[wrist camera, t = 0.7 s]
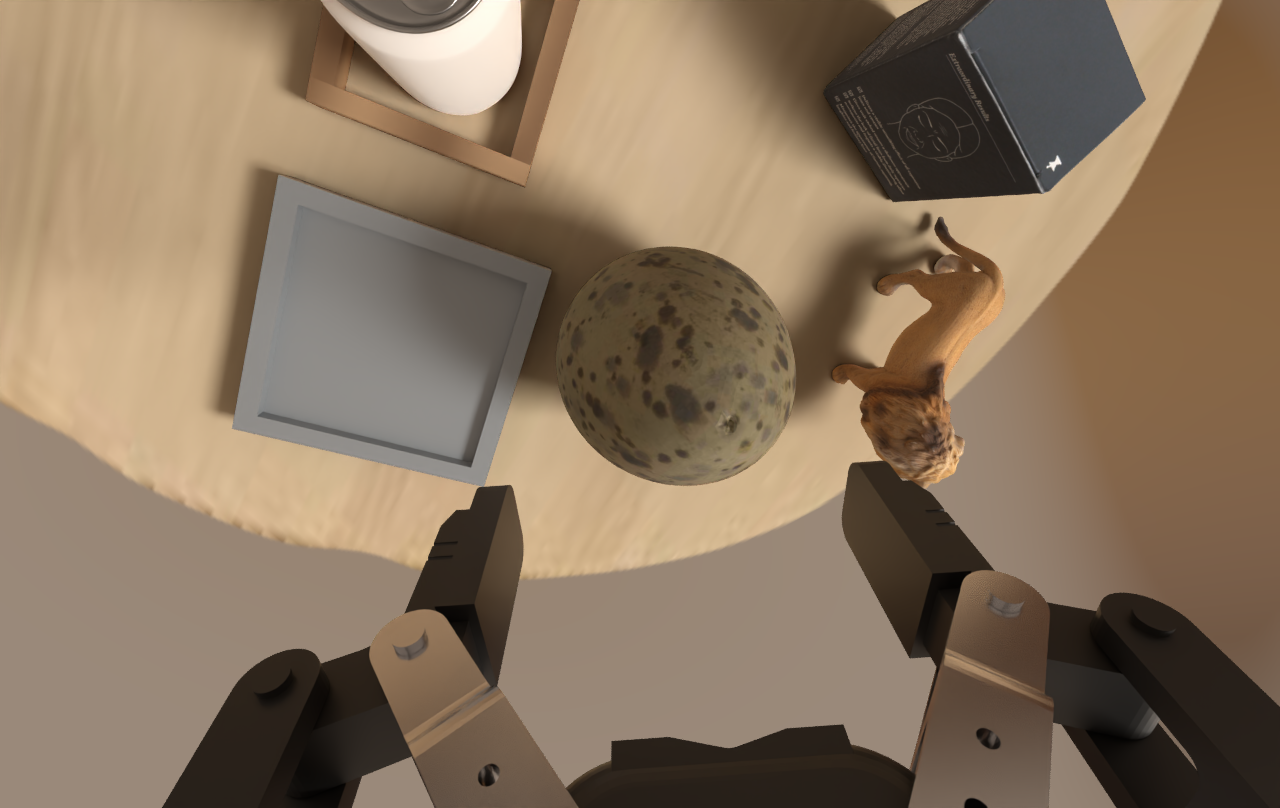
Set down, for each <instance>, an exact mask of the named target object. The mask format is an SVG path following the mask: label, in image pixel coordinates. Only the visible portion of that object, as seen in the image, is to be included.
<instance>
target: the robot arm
mask: <svg viewBox="0 0 1280 808" xmlns="http://www.w3.org/2000/svg"><path fill="white" fill-rule="evenodd" d="M842 526H843V531H844V534H845V538H846V540H847V542H848V544H849V546H850V548H851V550H852V552H853V553H854V555H855V557H856V559H857V561H858V563H859V565H860V566H861V568H862V570H863V572H864V574H865V576H866V578H867V580H868V581H869V583H870V585H871V587H872V589H873V591H874V593H875V594H876V596H877V598H878V600H879V602H880V604H881V606H882V608H883V609H884V611H885V613H886V615H887V617H888V619H889V621H890V623H891V624H892V626H893V628H894V630H895V632H896V634H897V636H898V637H899V639H900V641H901V643H902V645H903V647H904V649H905V651H906V652H907V654H908V656H909V658H921V657H931V658H932V660H933V661H934V663H935V665H936V670H935V673H934V676H933V680H932V685H931V688H930V692H929V696H928V700H927V704H926V708H925V711H924V715H923V719H922V723H921V727H920V731H919V735H918V739H917V742H916V746H915V750H914V754H913V758H912V761H911V765H910V768H909V769H907V768H906V767H904V766H903V765H901V764H899V763H897V762H896V761H894V760H892V759H890V758H889V757H886V756H884V755H882V754H879V753H877V752H875V751H872V750H869V749H866V748H863V747H860V746H856V745H851V744H850V741H849V739H848V736H847V733H846V730H845V728H844V725H830V726H815V727H801V728H787V729H784V730H781V731H779V732H776V733H773V734H770V735H768V736H765V737H762V738H759V739H757V740H754V741H751V742H749V743H746V744H743V745H740V746H738V747H734V748H722V747H717V746H712V745H706V744H702V743H697V742H692V741H686V740H681V739H676V738H671V737H664V738H649V739H635V740H623V741H622V740H621V741H612V751H611V752H612V753H611V755H612V756H611V757H612V758H611V761H609V762H606V763H604V764H601V765H599V766H597V767H595V768H593V769H591V770H590V771H588V772H586V773H585V774H583V775H582V776H580V777H579V778H577V779H576V780H575V781H573V782H572V783H571V784H570V785H569V786H568V787H566V788H565V786H564V785H563V783H562V782H561V780H560V779H559V778H558V776H557V774H556V773H555V771H554V770H553V768H552V767H551V765H550V764H549V762H548V760H547V759H546V757H545V756H544V754H543V753H542V751H541V750H540V748H539V747H538V745H537V744H536V742H535V741H534V739H533V738H532V736H531V735H530V733H529V732H528V730H527V729H526V727H525V726H524V724H523V723H522V721H521V720H520V718H519V717H518V715H517V714H516V712H515V710H514V709H513V707H512V706H511V705H510V703H509V701H508V700H507V698H506V697H505V695H504V694H503V693H502V691H501V690H500V689H499V688H498V686H497V684H498V680H499V675H500V669H501V665H502V660H503V655H504V650H505V645H506V640H507V636H508V631H509V626H510V620H511V616H512V611H513V605H514V601H515V596H516V592H517V587H518V582H519V577H520V572H521V567H522V562H523V535H522V530H521V525H520V520H519V515H518V510H517V505H516V500H515V496H514V491H513V488H512V486H511V485H505V486H490V487H479V488H478V489H477V491H476V493H475V496H474V499H473V502H472V504H471V507H470V509H469V510H456V511H455V512H454V513H453V514H452V515H451V516H450V517H449V518H448V519H447V520H446V521H445V522H444V523H443V524H442V525H441V527H440V530H439V532H438V534H437V537H436V539H435V542H434V546H432V549H431V551H430V554H429V556H428V561H426V563H425V566H424V568H423V570H422V573H421V575H420V578H419V580H418V582H417V585H416V587H415V590H414V592H413V594H412V597H411V599H410V602H409V604H408V606H407V609H406V611H405V613H404V614H403V615H401V616H399V617H397V618H395V619H394V620H392V621H391V622H389V623H388V624H387V625H385V626H384V627H383V628H382V629H381V630H380V631H379V633H378V634H377V635H376V637H375V638H374V640H373V642H372V644H371V646H369V647H367V648H365V649H363V650H360V651H358V652H354V653H351V654H348V655H345V656H343V657H340V658H337V659H334V660H331V661H328V662H325V663H322V664H321V663H320V661H319V659H318V657H317V656H316V655H315V654H314V653H313V652H311V651H309V650H305V649H292V650H286V651H283V652H280V653H277V654H274V655H272V656H270V657H268V658H266V659H264V660H263V661H261V662H260V663H258V664H256V665H255V666H254V667H253V668H251V669H250V670H249V671H248V672H247V673H246V674H245V675H244V676H243V677H242V678H241V679H240V680H239V681H238V682H237V684H236V685H235V687H234V688H233V690H232V692H231V693H230V695H229V696H228V698H227V700H226V701H225V703H224V705H223V706H222V708H221V710H220V711H219V713H218V715H217V716H216V718H215V720H214V721H213V723H212V725H211V726H210V728H209V730H208V731H207V733H206V735H205V737H204V738H203V740H202V741H201V743H200V745H199V747H198V748H197V750H196V752H195V753H194V755H193V757H192V758H191V760H190V762H189V763H188V765H187V767H186V768H185V770H184V772H183V773H182V775H181V777H180V778H179V780H178V782H177V783H176V785H175V787H174V789H173V790H172V792H171V794H170V795H169V797H168V799H167V800H166V802H165V804H164V805H163V807H162V808H352V805H353V802H354V799H355V796H356V793H357V790H358V787H359V784H360V781H361V778H362V776H364V775H366V774H368V773H371V772H374V771H376V770H379V769H381V768H384V767H386V766H389V765H391V764H394V763H396V762H399V761H401V760H404V759H406V758H409V757H411V756H412V758H413V760H414V763H415V765H416V767H417V769H418V772H419V774H420V776H421V778H422V781H423V783H424V785H425V787H426V789H427V792H428V794H429V796H430V799H431V801H432V803H433V805H434V808H1049V789H1050V771H1051V752H1052V733H1053V732H1052V731H1053V723H1058V724H1062V726H1063V727H1064V729H1065V730H1066V732H1067V733H1068V735H1069V736H1070V738H1071V740H1072V741H1073V743H1074V744H1075V745H1076V747H1077V749H1078V750H1079V752H1080V753H1081V755H1082V756H1083V758H1084V759H1085V761H1086V762H1087V764H1088V765H1089V767H1090V768H1091V769H1092V771H1093V773H1094V774H1095V776H1096V777H1097V779H1098V780H1099V782H1100V783H1101V785H1102V786H1103V788H1104V790H1105V791H1106V793H1107V794H1108V796H1109V797H1110V798H1111V800H1112V802H1113V803H1114V805H1115V806H1116V808H1280V707H1279V706H1278V705H1277V704H1276V703H1275V702H1274V701H1273V700H1272V699H1271V698H1270V697H1269V696H1268V695H1267V694H1266V693H1265V692H1264V691H1263V690H1262V689H1260V687H1259V686H1258V685H1256V684H1255V683H1254V682H1253V681H1252V680H1251V679H1250V678H1249V677H1248V676H1247V675H1246V674H1245V673H1244V672H1243V671H1242V670H1241V669H1240V668H1239V667H1238V666H1237V665H1236V664H1235V663H1234V662H1232V661H1231V660H1230V659H1229V658H1228V657H1227V656H1226V655H1225V654H1224V653H1223V652H1222V651H1221V650H1220V649H1219V648H1218V647H1217V646H1216V645H1215V644H1214V643H1213V642H1212V641H1211V640H1210V639H1209V638H1208V637H1206V636H1205V635H1204V634H1203V633H1202V632H1201V631H1200V630H1199V629H1198V628H1197V627H1196V626H1195V625H1194V624H1193V623H1192V622H1191V621H1189V620H1188V619H1187V618H1186V617H1185V616H1183V615H1182V614H1180V613H1179V612H1178V611H1176V610H1174V609H1173V608H1171V607H1169V606H1167V605H1165V604H1163V603H1161V602H1159V601H1156V600H1154V599H1151V598H1148V597H1145V596H1141V595H1137V594H1131V593H1114V594H1110V595H1108V596H1106V597H1104V598H1103V600H1102V601H1101V603H1100V605H1099V607H1098V609H1097V611H1092V610H1086V609H1080V608H1075V607H1069V606H1063V605H1058V604H1053V603H1048V602H1046V601H1045V599H1044V598H1043V596H1042V595H1041V594H1040V593H1039V592H1037V590H1035V589H1034V588H1033V587H1032V586H1030V585H1029V584H1027V583H1026V582H1024V581H1022V580H1021V579H1018V578H1016V577H1014V576H1011V575H1009V574H1006V573H1002V572H998V571H995V570H994V569H993V568H992V567H991V566H990V564H989V563H988V562H987V561H986V559H985V558H984V557H983V556H982V555H981V553H980V552H979V551H978V550H977V549H976V547H975V546H974V545H973V544H972V543H971V541H970V540H969V539H968V538H967V536H966V535H965V534H964V533H963V532H962V530H961V529H960V528H959V527H958V525H955V522H954V520H953V519H952V518H951V517H950V516H949V514H948V513H947V512H944V508H943V507H942V506H941V505H940V503H939V502H938V501H937V500H936V499H935V497H934V496H933V495H932V494H931V493H930V492H928V491H927V490H925V489H924V488H922V487H921V486H919V485H918V484H916V483H915V482H913V481H912V480H908V481H902V480H901V479H900V477H899V476H898V474H897V473H896V472H895V470H894V469H893V468H892V467H891V465H890V464H889V463H888V462H887V461H872V462H857V463H852V464H851V465H850V468H849V471H848V478H847V484H846V491H845V497H844V504H843V511H842ZM1159 720H1161V721H1162V722H1163V723H1164V724H1165V726H1166V727H1167V728H1168V729H1169V730H1170V732H1171V733H1172V734H1173V735H1174V737H1175V738H1176V739H1177V740H1178V741H1179V743H1180V744H1181V745H1182V746H1183V747H1184V749H1185V750H1186V751H1187V753H1188V754H1189V755H1190V757H1191V758H1192V760H1193V762H1194V764H1195V766H1196V768H1197V770H1196V769H1195V767H1194V766H1193V765H1192V764H1191V763H1190V761H1189V760H1188V759H1187V758H1186V757H1185V755H1184V754H1183V753H1182V752H1181V750H1180V749H1179V748H1178V747H1177V745H1176V744H1175V743H1174V742H1173V741H1172V739H1171V738H1170V737H1169V736H1168V735H1167V733H1166V732H1165V731H1164V730H1163V728H1162V727H1161V726H1160V725H1159V724H1158V722H1159Z"/></svg>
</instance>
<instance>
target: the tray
mask: <svg viewBox="0 0 1280 808" xmlns="http://www.w3.org/2000/svg"><path fill="white" fill-rule="evenodd" d="M551 272H552V270H551V268H548V267H545V266H542V265H539V264H536V263H534V262H531V261H528V260H525V259H522V258H520V257H517V256H514V255H511V254H508V253H505V252H503V251H500V250H497V249H494V248H491V247H488V246H486V245H483V244H480V243H477V242H474V241H472V240H469V239H466V238H463V237H460V236H457V235H455V234H452V233H449V232H446V231H443V230H441V229H438V228H435V227H432V226H429V225H426V224H424V223H421V222H418V221H415V220H412V219H409V218H407V217H404V216H401V215H398V214H395V213H393V212H390V211H387V210H384V209H381V208H378V207H376V206H373V205H370V204H367V203H364V202H361V201H359V200H356V199H353V198H350V197H347V196H345V195H342V194H339V193H336V192H333V191H330V190H328V189H325V188H322V187H319V186H316V185H314V184H311V183H308V182H305V181H302V180H299V179H297V178H294V177H290V176H284V175H278V180H277V185H276V191H275V196H274V202H273V207H272V212H271V218H270V223H269V229H268V234H267V240H266V245H265V251H264V256H263V262H262V267H261V273H260V278H259V284H258V289H257V295H256V300H255V306H254V311H253V316H252V322H251V327H250V333H249V338H248V344H247V349H246V355H245V360H244V366H243V371H242V377H241V382H240V388H239V393H238V399H237V404H236V410H235V415H234V421H233V426H232V429H236V430H240V431H244V432H249V433H253V434H257V435H262V436H266V437H270V438H275V439H279V440H283V441H288V442H292V443H296V444H301V445H305V446H309V447H314V448H318V449H322V450H326V451H331V452H335V453H339V454H344V455H348V456H352V457H357V458H361V459H365V460H370V461H374V462H378V463H383V464H387V465H391V466H396V467H400V468H404V469H408V470H413V471H417V472H421V473H426V474H430V475H434V476H439V477H443V478H447V479H452V480H456V481H460V482H465V483H469V484H473V485H478V486H482V487H484V485H485V482H486V478H487V475H488V472H489V469H490V466H491V463H492V459H493V456H494V453H495V450H496V447H497V444H498V440H499V437H500V434H501V431H502V428H503V424H504V421H505V418H506V415H507V412H508V409H509V405H510V402H511V399H512V396H513V393H514V390H515V386H516V383H517V380H518V377H519V374H520V371H521V367H522V364H523V361H524V358H525V355H526V352H527V348H528V345H529V342H530V339H531V336H532V333H533V329H534V326H535V323H536V320H537V317H538V313H539V310H540V307H541V304H542V301H543V298H544V294H545V291H546V288H547V285H548V282H549V279H550V275H551Z"/></svg>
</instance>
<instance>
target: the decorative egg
mask: <svg viewBox="0 0 1280 808" xmlns="http://www.w3.org/2000/svg"><path fill="white" fill-rule="evenodd" d="M556 371H557V379H558V384H559V389H560V393H561V396H562V399H563V402H564V405H565V407H566V410H567V412H568V414H569V416H570V417H571V419H572V421H573V423H574V424H575V426H576V428H577V429H578V431H579V432H580V433H581V435H582V436H583V437H584V438H585V439H586V441H587V442H588V443H589V444H590V445H591V446H592V447H593V448H594V449H595V450H596V451H597V452H598V453H599V454H601V455H602V456H603V457H604V458H606V459H607V460H608V461H610V462H611V463H612V464H614V465H615V466H617V467H619V468H621V469H623V470H624V471H626V472H628V473H630V474H633V475H635V476H637V477H640V478H643V479H646V480H649V481H652V482H657V483H661V484H667V485H679V486H693V485H703V484H709V483H714V482H718V481H721V480H724V479H727V478H729V477H732V476H734V475H736V474H738V473H740V472H742V471H743V470H745V469H747V468H748V467H750V466H751V465H753V464H754V463H756V462H757V461H758V460H759V459H760V458H761V457H763V456H764V455H765V454H766V453H767V452H768V450H769V449H770V448H771V447H772V446H773V445H774V443H775V442H776V441H777V439H778V438H779V436H780V435H781V433H782V431H783V429H784V427H785V425H786V423H787V421H788V418H789V416H790V413H791V409H792V406H793V401H794V396H795V388H796V366H795V359H794V353H793V348H792V344H791V340H790V337H789V334H788V331H787V328H786V326H785V324H784V321H783V319H782V317H781V315H780V313H779V312H778V310H777V308H776V307H775V305H774V304H773V302H772V301H771V299H770V298H769V297H768V295H767V294H766V293H765V292H764V290H763V289H762V288H761V287H760V286H759V285H758V284H757V283H756V282H755V281H754V280H753V279H752V278H751V277H750V276H748V275H747V274H746V273H745V272H743V271H742V270H741V269H739V268H738V267H736V266H734V265H733V264H731V263H729V262H728V261H726V260H724V259H722V258H720V257H717V256H715V255H712V254H710V253H707V252H703V251H700V250H695V249H690V248H682V247H657V248H649V249H644V250H640V251H636V252H634V253H631V254H628V255H626V256H623V257H621V258H619V259H617V260H615V261H614V262H612V263H610V264H608V265H607V266H605V267H604V268H602V269H601V270H600V271H599V272H597V273H596V274H595V275H594V276H593V277H592V278H590V279H589V281H588V282H587V283H586V284H585V285H584V286H583V287H582V288H581V290H580V291H579V292H578V294H577V295H576V297H575V298H574V299H573V301H572V303H571V305H570V306H569V308H568V310H567V312H566V314H565V317H564V319H563V322H562V325H561V328H560V332H559V336H558V341H557V349H556Z"/></svg>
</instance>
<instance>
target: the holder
mask: <svg viewBox="0 0 1280 808" xmlns="http://www.w3.org/2000/svg"><path fill="white" fill-rule="evenodd" d="M578 4H579V0H555V2H554V5H553V9H552V13H551V16H550V20H549V23H548V27H547V30H546V34H545V37H544V41H543V44H542V48H541V52H540V55H539V59H538V62H537V66H536V69H535V73H534V76H533V80H532V83H531V87H530V91H529V94H528V98H527V101H526V105H525V108H524V112H523V115H522V119H521V122H520V126H519V130H518V133H517V137H516V140H515V144H514V147H513V151H512V154H511V157H508V156H506V155H503V154H501V153H498V152H496V151H493V150H491V149H488V148H486V147H483V146H481V145H478V144H476V143H474V142H471V141H469V140H466V139H464V138H461V137H459V136H456V135H454V134H451V133H449V132H446V131H444V130H441V129H439V128H436V127H434V126H431V125H429V124H427V123H424V122H422V121H419V120H417V119H414V118H412V117H409V116H407V115H404V114H402V113H399V112H397V111H394V110H392V109H389V108H387V107H384V106H382V105H379V104H377V103H375V102H372V101H370V100H367V99H365V98H362V97H360V96H357V95H355V94H352V93H350V92H347V91H345V88H346V83H347V78H348V73H349V68H350V63H351V59H352V54H353V49H354V44H355V40H354V39H353V38H352V37H351V36H350V35H349V34H348V33H347V32H346V31H345V29H344V28H343V27H342V26H341V25H340V24H339V23H338V22H337V21H336V20H335V18H334V17H333V16H332V15H331V14H330V12H329V11H328V10H327V9H326V7H325V6H324V5H323V8H322V13H321V19H320V24H319V29H318V35H317V40H316V45H315V51H314V56H313V61H312V67H311V72H310V77H309V83H308V88H307V93H306V98H305V100H306V101H308V102H310V103H312V104H314V105H316V106H319V107H321V108H324V109H326V110H329V111H331V112H334V113H336V114H339V115H341V116H344V117H347V118H349V119H352V120H354V121H357V122H359V123H362V124H364V125H367V126H370V127H372V128H375V129H377V130H380V131H382V132H385V133H387V134H390V135H393V136H395V137H398V138H400V139H403V140H405V141H408V142H410V143H413V144H416V145H418V146H421V147H423V148H426V149H428V150H431V151H433V152H436V153H439V154H441V155H444V156H446V157H449V158H451V159H454V160H456V161H459V162H462V163H464V164H467V165H469V166H472V167H474V168H477V169H479V170H482V171H484V172H487V173H490V174H492V175H495V176H497V177H500V178H502V179H505V180H507V181H510V182H513V183H515V184H518V185H520V186H523V187H525V185H526V182H527V179H528V175H529V172H530V168H531V165H532V161H533V158H534V155H535V151H536V148H537V144H538V141H539V137H540V134H541V131H542V127H543V124H544V120H545V117H546V113H547V110H548V107H549V103H550V100H551V96H552V93H553V89H554V86H555V83H556V79H557V76H558V72H559V69H560V65H561V62H562V59H563V55H564V52H565V48H566V45H567V41H568V38H569V35H570V31H571V28H572V24H573V21H574V17H575V14H576V11H577V7H578Z"/></svg>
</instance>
